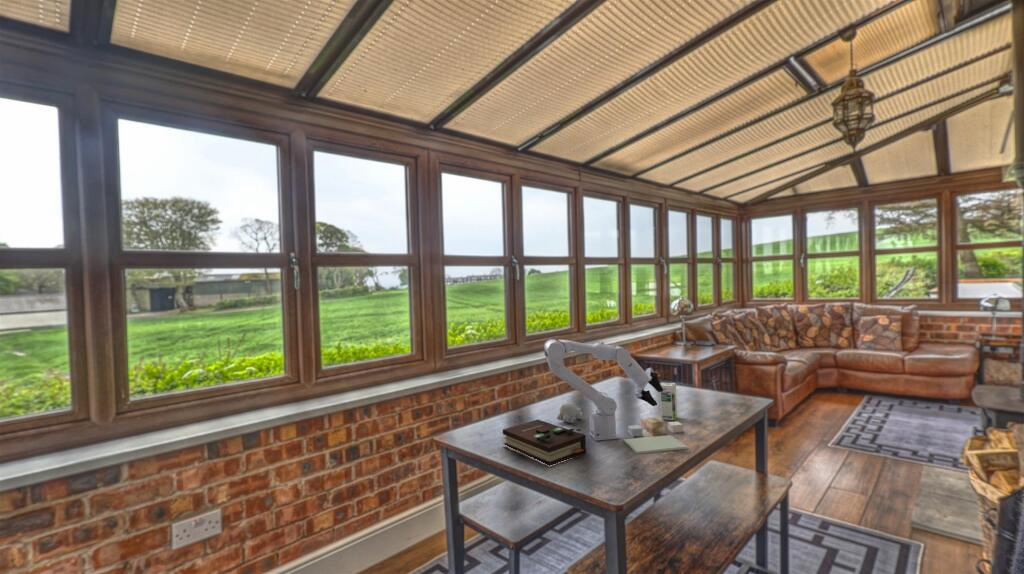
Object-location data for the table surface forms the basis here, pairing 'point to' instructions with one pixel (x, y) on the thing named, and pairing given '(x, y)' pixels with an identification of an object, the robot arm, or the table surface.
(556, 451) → the decorative book
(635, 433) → the grey-blue block
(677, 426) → the light grey block
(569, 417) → the toy rhinoceros
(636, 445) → the sage board
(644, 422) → the terracotta block
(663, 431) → the maple block
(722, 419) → the table surface
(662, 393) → the syrup box
